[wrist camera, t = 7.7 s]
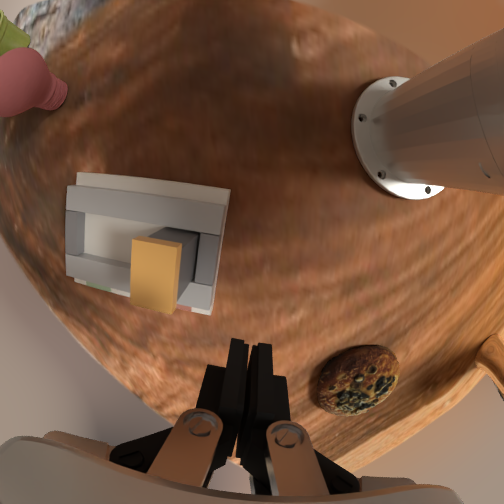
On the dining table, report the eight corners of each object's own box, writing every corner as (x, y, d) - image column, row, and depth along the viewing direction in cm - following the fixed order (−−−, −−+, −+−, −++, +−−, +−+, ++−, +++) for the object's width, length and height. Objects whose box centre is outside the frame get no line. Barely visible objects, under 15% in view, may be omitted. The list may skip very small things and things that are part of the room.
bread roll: (343, 331, 28) (360, 360, 24) (407, 346, 30) (426, 370, 26) (297, 398, 32) (305, 428, 27) (362, 404, 34) (374, 429, 29)
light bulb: (94, 72, 22) (24, 38, 10) (68, 130, 24) (-11, 119, 12) (57, 65, 21) (-8, 40, 10) (34, 118, 23) (-36, 109, 12)
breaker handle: (201, 227, 24) (176, 247, 17) (194, 278, 25) (171, 314, 18) (166, 222, 24) (132, 239, 17) (162, 272, 25) (130, 304, 18)
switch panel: (230, 189, 25) (226, 190, 22) (212, 308, 28) (207, 322, 25) (85, 171, 25) (68, 172, 22) (81, 277, 28) (67, 286, 25)
